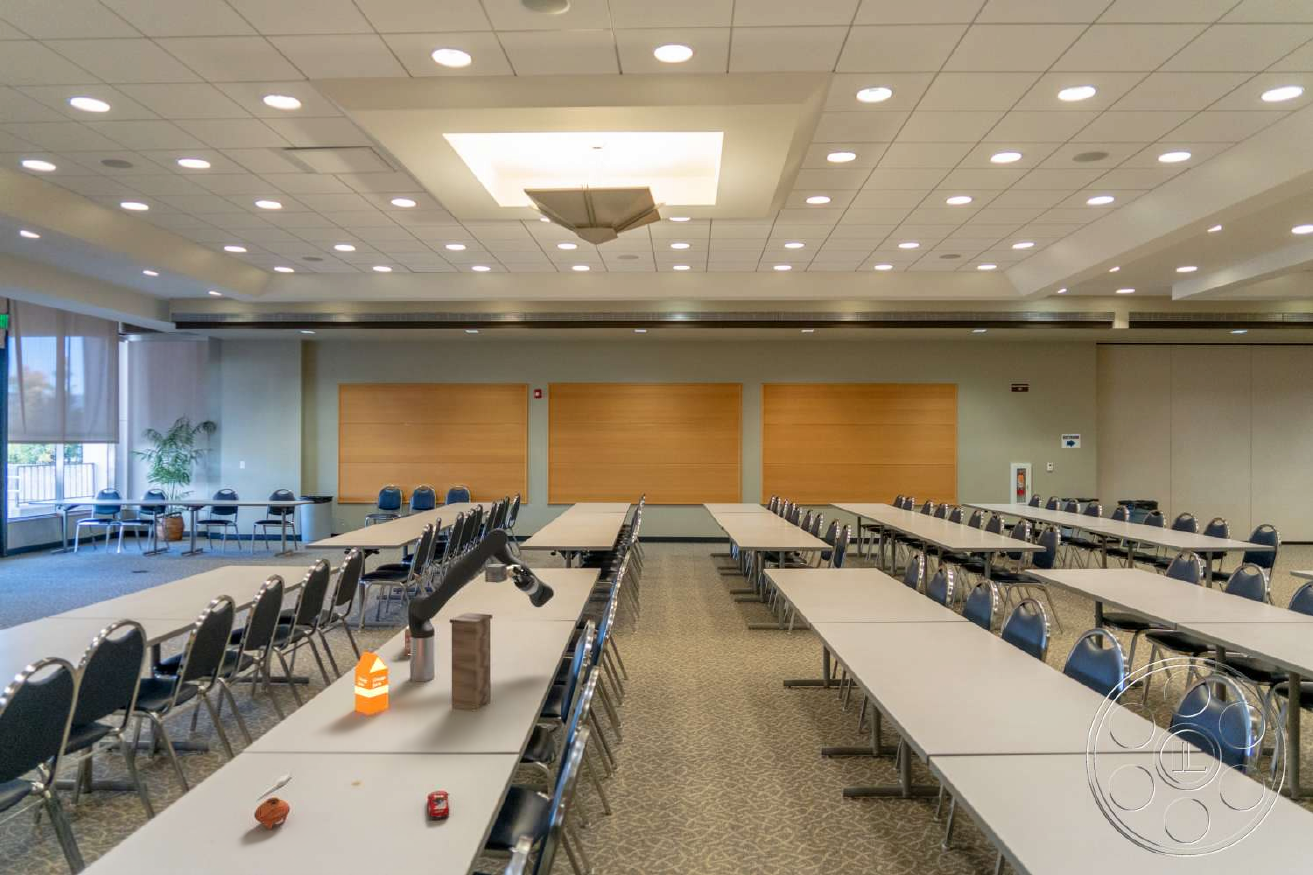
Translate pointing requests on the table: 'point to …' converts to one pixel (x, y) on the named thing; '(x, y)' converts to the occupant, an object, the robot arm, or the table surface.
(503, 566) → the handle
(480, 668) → the pedestal
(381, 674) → the orange juice
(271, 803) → the pot
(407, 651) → the red printed box
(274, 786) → the white tapered stick
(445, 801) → the race car
